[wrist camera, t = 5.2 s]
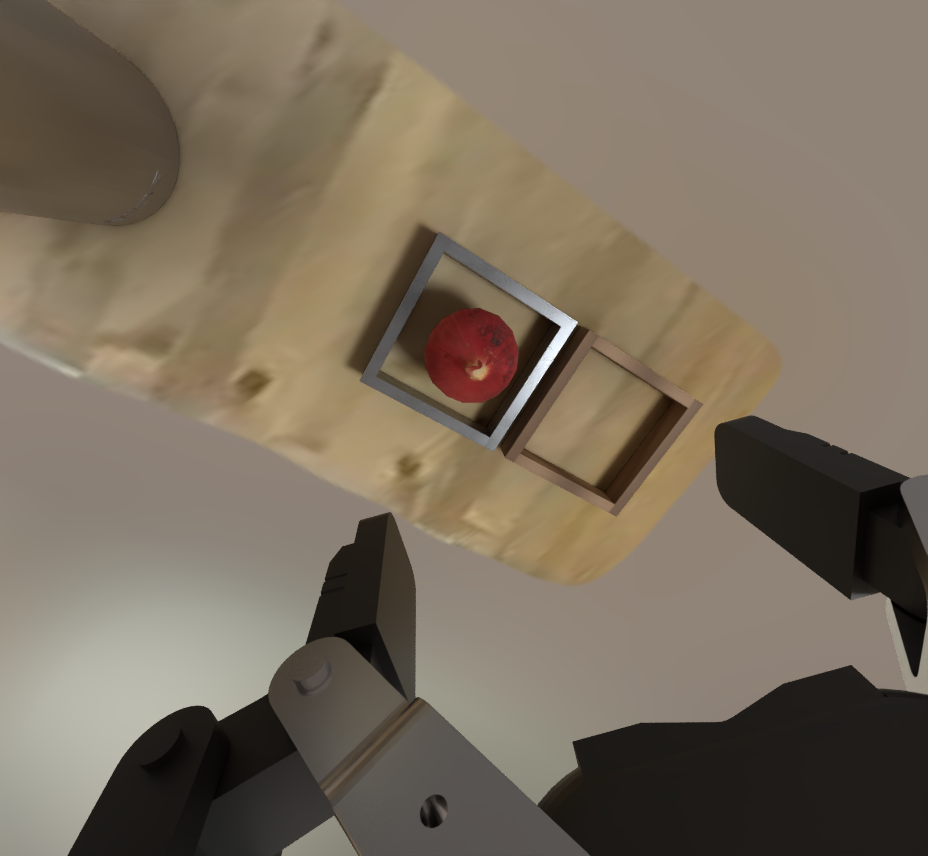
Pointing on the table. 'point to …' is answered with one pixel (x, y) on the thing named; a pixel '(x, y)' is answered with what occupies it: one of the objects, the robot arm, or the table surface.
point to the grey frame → (526, 379)
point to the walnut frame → (643, 456)
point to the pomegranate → (471, 355)
